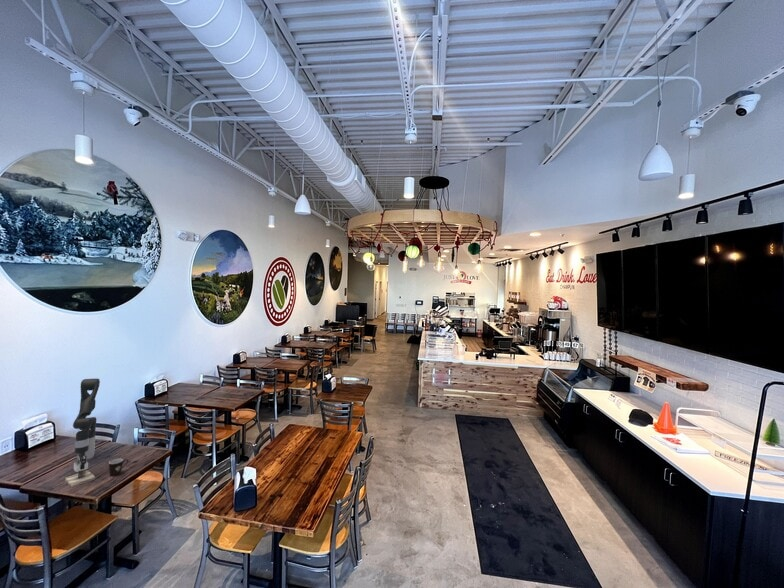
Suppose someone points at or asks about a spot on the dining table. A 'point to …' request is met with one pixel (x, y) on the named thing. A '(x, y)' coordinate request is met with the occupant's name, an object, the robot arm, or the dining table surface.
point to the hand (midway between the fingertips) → (80, 467)
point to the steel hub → (77, 466)
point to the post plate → (80, 478)
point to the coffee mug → (116, 466)
